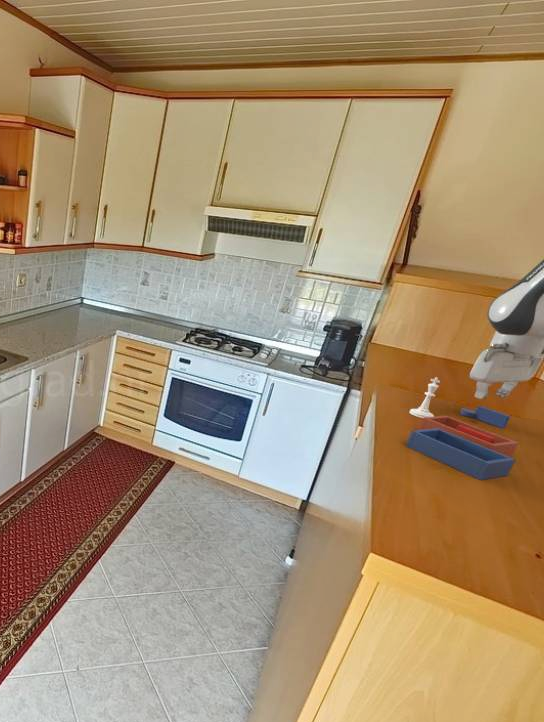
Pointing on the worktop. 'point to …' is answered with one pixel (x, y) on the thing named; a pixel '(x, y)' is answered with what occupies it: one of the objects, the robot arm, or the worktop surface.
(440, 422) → the red bin
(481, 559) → the worktop surface
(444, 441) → the blue bin
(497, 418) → the blue flat paddle
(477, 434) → the red block
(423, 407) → the chess piece
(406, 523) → the worktop surface
